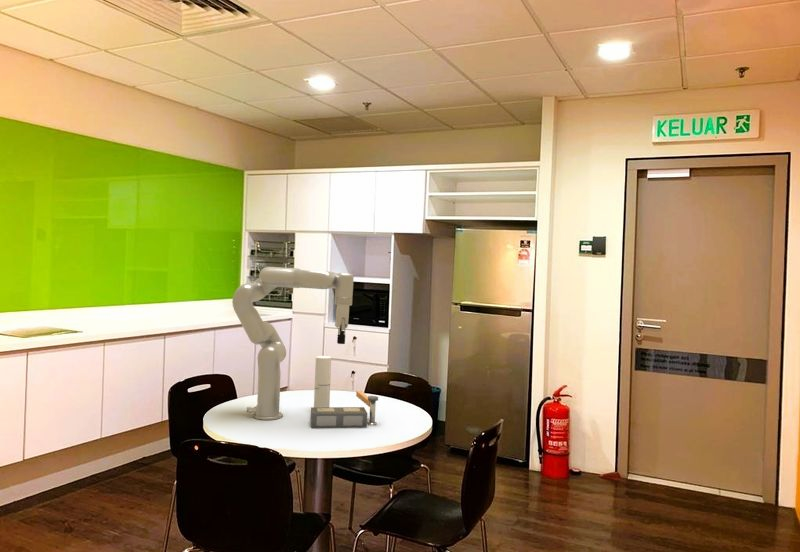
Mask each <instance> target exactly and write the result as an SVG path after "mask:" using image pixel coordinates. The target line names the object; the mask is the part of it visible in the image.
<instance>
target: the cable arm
mask: <svg viewBox="0 0 800 552" xmlns="http://www.w3.org/2000/svg"><path fill="white" fill-rule="evenodd" d="M355 393H356V394H355V396H356V397H357V398H358V399H359V400H360V401H361V402H363V403H364V404H365V405H366V406H367V407H368V408H370V401H376V402H377V401H379V396H376V395H367V394H365V393H364V392H363V391H361V390H356V391H355Z"/></svg>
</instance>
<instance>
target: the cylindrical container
mask: <svg viewBox="0 0 800 552" xmlns="http://www.w3.org/2000/svg"><path fill="white" fill-rule="evenodd" d="M314 367H315V369H314V371H315V373H314V393H313V398H314V399H313V407H330V403H331V401H330V400H331V379H332V378H331V377H332V376H331V375H332V373H331V372H332V356H328V355H318V356H315V366H314Z"/></svg>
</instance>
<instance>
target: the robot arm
mask: <svg viewBox="0 0 800 552" xmlns="http://www.w3.org/2000/svg"><path fill="white" fill-rule="evenodd" d="M278 287H280V288H292V289H301V288H302V289H312V290H313V289H316V290H317V289H318V290H330V289H335V290H334V291H335V292H334V293H335V294H334V305H336V310H335V321H334V326H335V328H337V329H338V331H337V338H336V339H337V340H336V343H337V345H345V344H346V329H347V328H348V327H349V318H350V316H349V315H350V306H352V305H353V292H354V275H353V273H350V272H334V271H326V270H325V271H317V270H306V269H305V270H304V269H300V268H294V267H281V266H280V267H279V266H277V267H276V266H265V267H263V268H262V269H261V270H260V271H259V274H258V278H257V279H256V280H254V281H252V282H247V283H243V284H241V285H239V286H238V288H236V290H235V292H234V293H233V295H232V301H231V302H232V308H233V311H234V312H235V313H234V314H236V316H237V318H238V320H239V322H240V324H241V326H242V327H243V329H244V331H245V334H246V336H247V337H248V339H249V341H250V342H251V343H252V344H254V345H260V346H261V349H259V351H258V354H257V368H258V369H257V372H258V373H257V374H258V375H257V378H258V379H257V398H256V399H257V400H256V402H257V404H256V406H254V407H251V406H249V407H246V413H249V414H251V413H253V415H252V417H253V418H254V419H256V420H262V421H270V420H271V421H272V420H278V419H281V418H282V417H283V415H284V414H283V413H282V412H281V411H280V399H281V395H280V394H281V367H280V366H281V365H280V364H281V362H284V360H285V358H286V356H287V349H286V346H285V344H284V342H283V340H282V339H281V337H280V335H279V333H278V331H277V330H276V328H275V326H273V324H272V323H270V322H269V321H264V320H263V319H262V317H261V316H260V313H259V312H258V310H257V309H256V307H254V304H253V303H255V302H259V301H260V300H263V299H264V298H265V297H266V296H268V295H269V294H270V293H271V292H272V291H273V290H275V289H276V288H278Z"/></svg>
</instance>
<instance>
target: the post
mask: <svg viewBox="0 0 800 552" xmlns="http://www.w3.org/2000/svg"><path fill="white" fill-rule="evenodd" d="M376 402H377V401H370V407H369V417H368V419H369V420H368V421H367V426H376V425H377V424H378V423H377V422H376V405H377V403H376Z"/></svg>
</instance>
